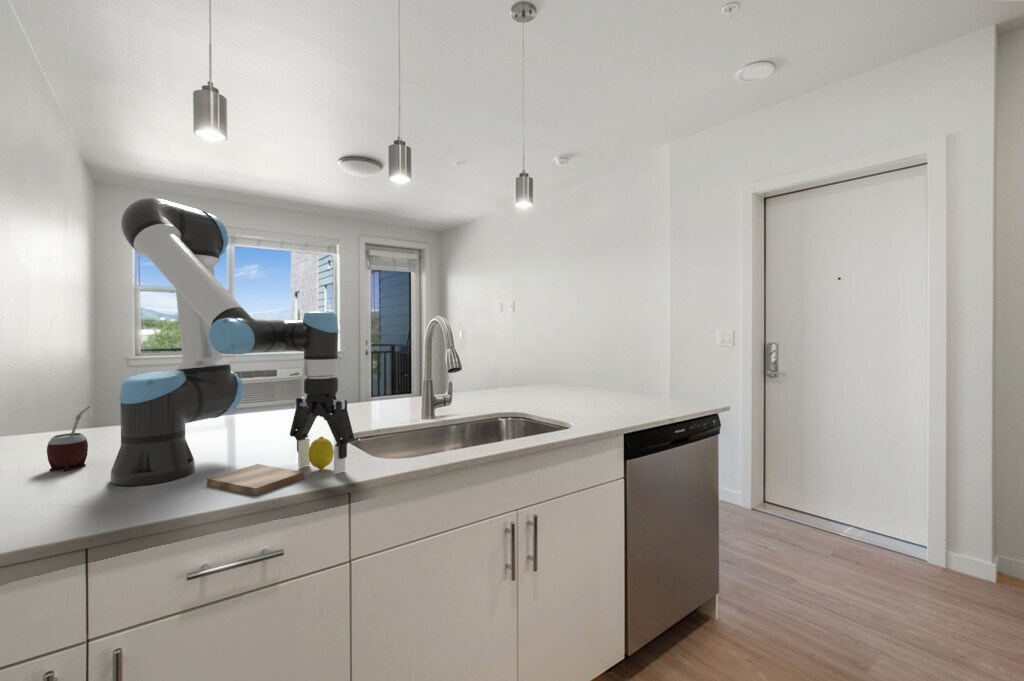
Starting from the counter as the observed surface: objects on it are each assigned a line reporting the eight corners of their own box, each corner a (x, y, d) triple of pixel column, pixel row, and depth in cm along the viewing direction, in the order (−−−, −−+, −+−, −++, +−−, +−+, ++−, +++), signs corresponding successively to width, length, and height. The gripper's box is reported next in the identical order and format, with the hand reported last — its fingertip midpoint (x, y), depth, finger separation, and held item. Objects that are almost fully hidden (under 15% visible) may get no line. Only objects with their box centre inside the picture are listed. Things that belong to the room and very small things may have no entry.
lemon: (324, 474, 108) (324, 439, 107) (303, 472, 109) (303, 438, 108) (338, 467, 113) (338, 434, 113) (318, 465, 114) (317, 433, 114)
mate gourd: (50, 467, 111) (49, 405, 111) (94, 462, 116) (93, 402, 116) (44, 475, 106) (43, 409, 105) (90, 469, 110) (89, 406, 110)
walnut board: (206, 485, 99) (206, 478, 99) (257, 470, 110) (257, 463, 110) (255, 495, 93) (255, 488, 93) (303, 478, 104) (303, 471, 104)
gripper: (370, 377, 109) (370, 470, 110) (298, 373, 118) (298, 459, 119) (347, 380, 102) (347, 479, 103) (272, 376, 112) (273, 467, 112)
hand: (321, 469), depth 111 cm, fingers open, 11 cm apart
